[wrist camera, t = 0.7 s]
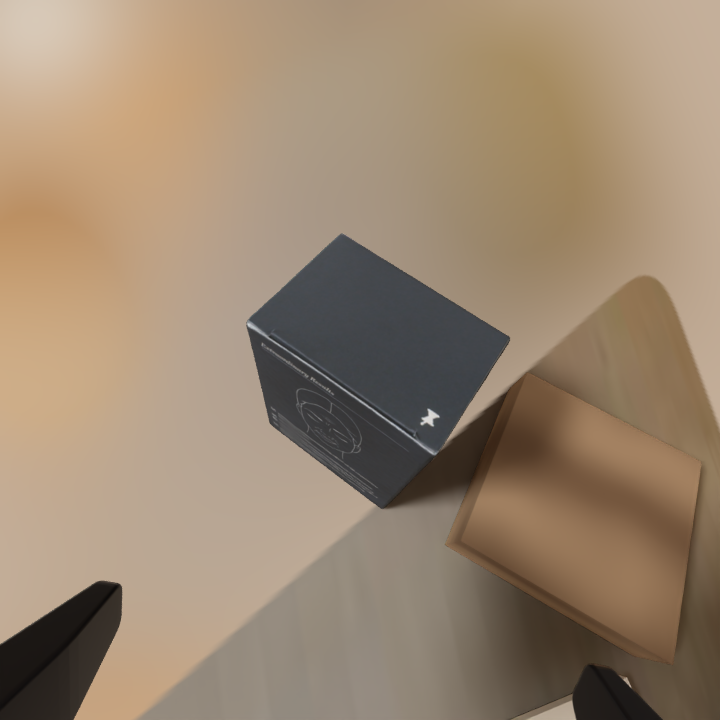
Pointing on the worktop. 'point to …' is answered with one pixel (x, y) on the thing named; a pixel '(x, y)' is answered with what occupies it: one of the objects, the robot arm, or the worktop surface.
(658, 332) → the worktop surface
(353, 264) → the box
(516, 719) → the card
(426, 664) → the worktop surface
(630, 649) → the walnut slab
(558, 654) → the worktop surface
